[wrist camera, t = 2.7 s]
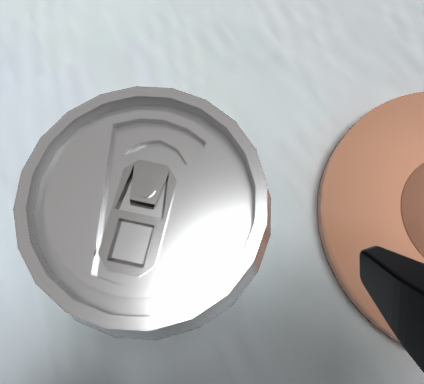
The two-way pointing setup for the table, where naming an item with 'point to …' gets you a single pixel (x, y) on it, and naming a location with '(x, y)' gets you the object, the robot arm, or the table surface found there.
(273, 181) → the table surface
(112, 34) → the table surface
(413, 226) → the saucer
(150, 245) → the beer can
